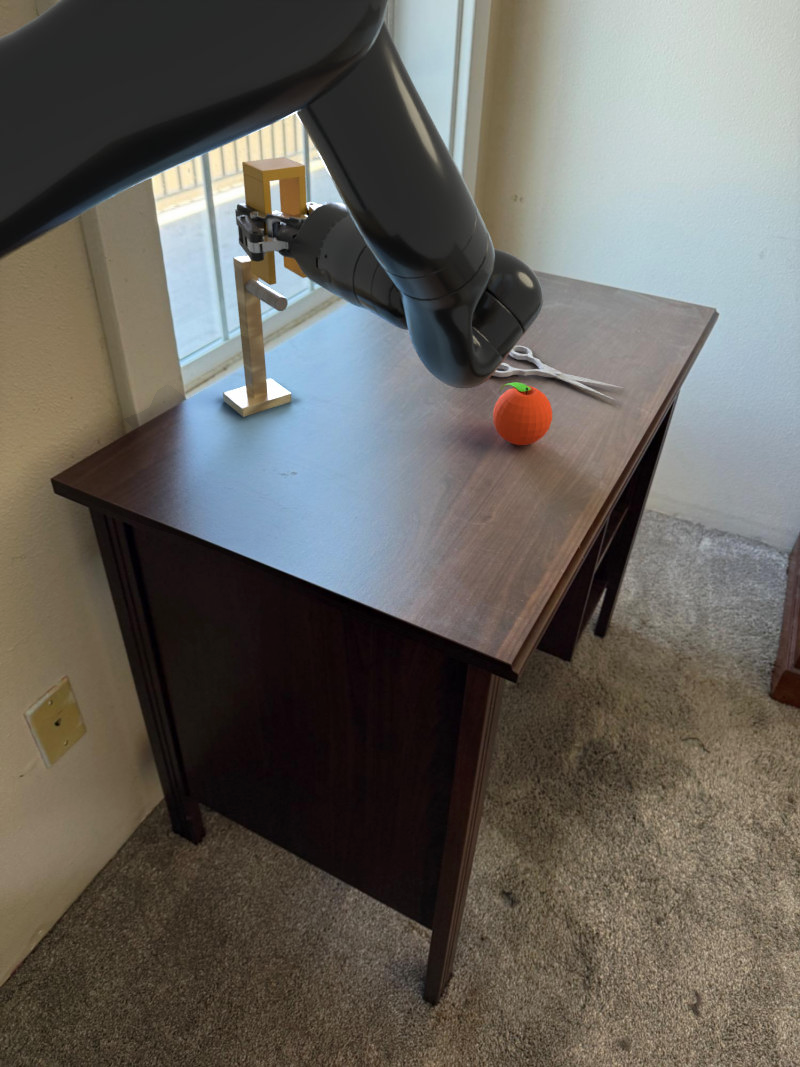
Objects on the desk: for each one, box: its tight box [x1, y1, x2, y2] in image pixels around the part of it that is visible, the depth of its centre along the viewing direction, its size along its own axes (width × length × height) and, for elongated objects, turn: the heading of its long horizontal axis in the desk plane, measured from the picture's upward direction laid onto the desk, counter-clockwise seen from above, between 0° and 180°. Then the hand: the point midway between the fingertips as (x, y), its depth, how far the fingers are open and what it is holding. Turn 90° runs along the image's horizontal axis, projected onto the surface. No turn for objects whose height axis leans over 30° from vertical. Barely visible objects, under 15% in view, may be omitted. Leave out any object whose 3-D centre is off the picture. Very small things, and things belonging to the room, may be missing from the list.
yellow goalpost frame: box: [241, 156, 307, 286], centre depth 77 cm, size 5×4×11 cm
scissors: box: [492, 344, 624, 401], centre depth 103 cm, size 11×1×20 cm
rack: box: [222, 254, 293, 418], centre depth 88 cm, size 7×10×18 cm
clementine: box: [492, 381, 553, 446], centre depth 88 cm, size 8×7×7 cm
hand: (263, 210), depth 78 cm, fingers closed on yellow goalpost frame, 4 cm apart
